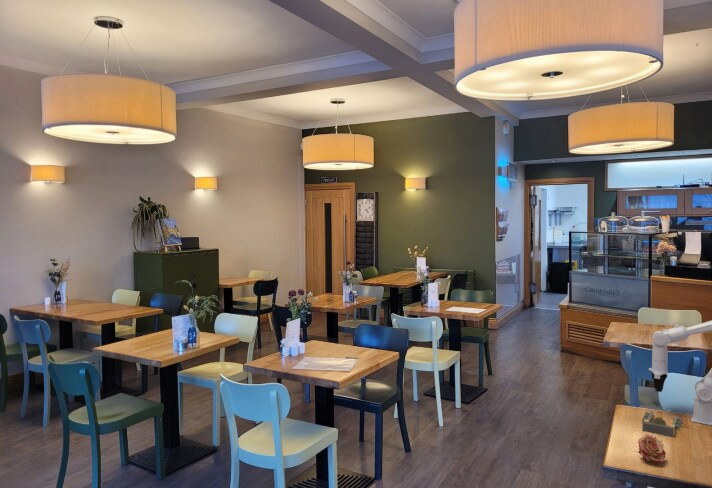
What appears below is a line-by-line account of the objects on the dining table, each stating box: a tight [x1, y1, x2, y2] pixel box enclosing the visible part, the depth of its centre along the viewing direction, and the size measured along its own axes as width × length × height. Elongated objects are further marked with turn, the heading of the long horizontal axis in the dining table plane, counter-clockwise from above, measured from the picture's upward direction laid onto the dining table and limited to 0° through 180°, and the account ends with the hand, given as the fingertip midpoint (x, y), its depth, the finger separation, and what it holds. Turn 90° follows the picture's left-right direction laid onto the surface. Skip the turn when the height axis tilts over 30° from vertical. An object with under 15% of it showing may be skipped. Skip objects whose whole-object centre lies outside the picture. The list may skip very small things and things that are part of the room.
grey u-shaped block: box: [641, 410, 683, 438], centre depth 217 cm, size 13×20×3 cm, turn 144°
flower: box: [634, 433, 667, 464], centre depth 187 cm, size 10×9×8 cm
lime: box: [651, 417, 667, 425], centre depth 212 cm, size 4×5×5 cm
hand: (659, 391), depth 228 cm, fingers closed
